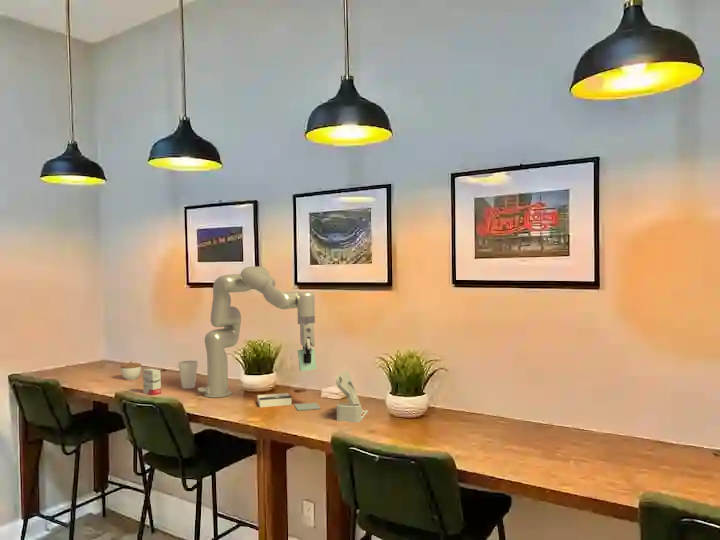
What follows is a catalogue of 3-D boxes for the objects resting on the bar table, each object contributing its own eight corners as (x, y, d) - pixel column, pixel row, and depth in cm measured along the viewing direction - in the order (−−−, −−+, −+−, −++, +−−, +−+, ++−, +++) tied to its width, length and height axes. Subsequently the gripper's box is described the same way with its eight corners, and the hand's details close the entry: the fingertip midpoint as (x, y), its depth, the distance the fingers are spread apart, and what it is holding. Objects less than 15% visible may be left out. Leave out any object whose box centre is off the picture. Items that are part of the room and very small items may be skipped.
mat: (297, 410, 258) (297, 409, 257) (294, 405, 267) (294, 404, 267) (320, 409, 260) (320, 407, 260) (316, 403, 270) (316, 402, 270)
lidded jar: (121, 377, 336) (121, 360, 336) (141, 376, 340) (141, 359, 339) (120, 381, 326) (119, 363, 326) (141, 379, 329) (140, 362, 329)
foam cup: (175, 388, 305) (174, 363, 305) (185, 384, 314) (185, 360, 314) (191, 389, 302) (191, 363, 302) (201, 385, 311) (201, 360, 311)
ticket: (300, 371, 261) (298, 351, 261) (299, 370, 264) (297, 350, 263) (316, 368, 263) (314, 348, 263) (315, 367, 266) (313, 347, 265)
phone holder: (359, 422, 238) (358, 377, 238) (334, 421, 240) (334, 376, 240) (368, 411, 255) (368, 369, 255) (345, 410, 257) (345, 368, 257)
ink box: (161, 393, 294) (161, 369, 294) (152, 395, 290) (152, 371, 290) (151, 391, 300) (151, 367, 299) (142, 393, 296) (142, 369, 296)
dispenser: (259, 407, 265) (259, 398, 265) (257, 401, 275) (257, 392, 275) (291, 404, 268) (291, 395, 268) (287, 399, 279) (287, 390, 279)
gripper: (318, 321, 256) (318, 364, 256) (311, 318, 272) (311, 359, 272) (300, 322, 254) (301, 365, 255) (294, 319, 270) (295, 359, 270)
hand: (306, 361), depth 263 cm, fingers closed on ticket, 2 cm apart
